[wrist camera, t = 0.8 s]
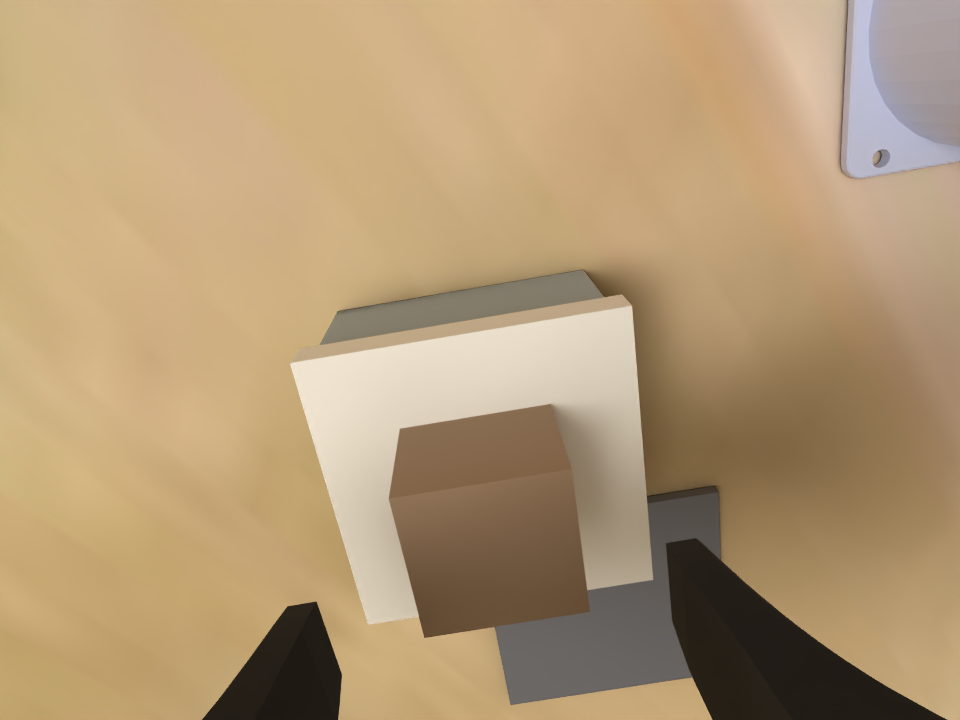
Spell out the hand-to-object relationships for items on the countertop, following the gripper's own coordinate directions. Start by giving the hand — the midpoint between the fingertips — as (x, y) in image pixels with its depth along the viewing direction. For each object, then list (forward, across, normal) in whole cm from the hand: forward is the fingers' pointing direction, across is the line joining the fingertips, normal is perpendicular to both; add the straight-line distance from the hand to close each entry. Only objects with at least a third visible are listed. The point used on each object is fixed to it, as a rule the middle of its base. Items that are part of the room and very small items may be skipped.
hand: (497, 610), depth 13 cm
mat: (+10, -3, +10) cm, 14 cm away
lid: (+6, 0, 0) cm, 6 cm away
